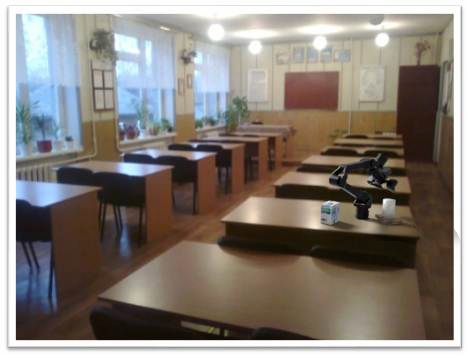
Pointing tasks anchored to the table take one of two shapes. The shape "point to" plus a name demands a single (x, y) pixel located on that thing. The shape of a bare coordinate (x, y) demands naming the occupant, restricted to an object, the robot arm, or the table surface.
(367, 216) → the robot arm
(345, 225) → the table surface
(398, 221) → the walnut base block
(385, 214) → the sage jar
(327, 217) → the light bulb box
